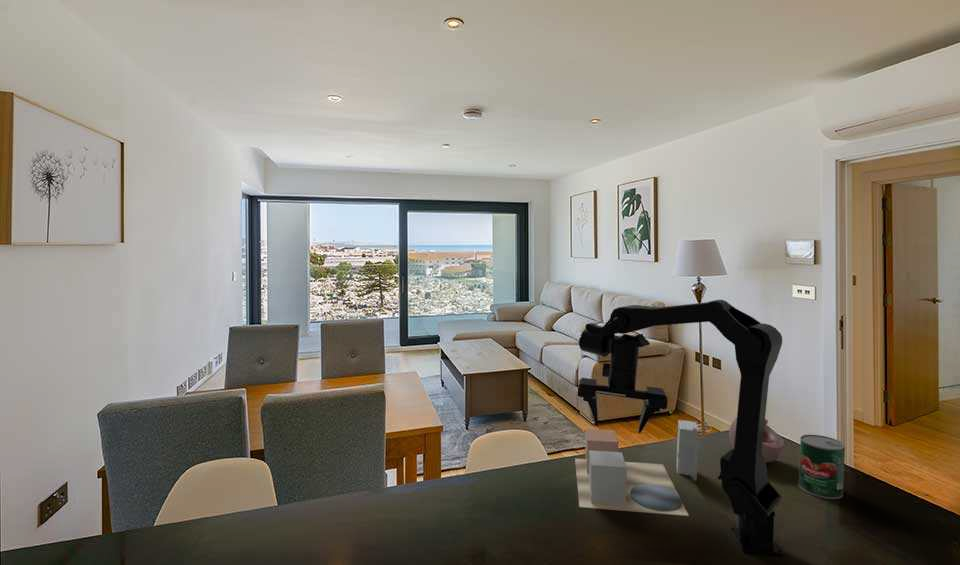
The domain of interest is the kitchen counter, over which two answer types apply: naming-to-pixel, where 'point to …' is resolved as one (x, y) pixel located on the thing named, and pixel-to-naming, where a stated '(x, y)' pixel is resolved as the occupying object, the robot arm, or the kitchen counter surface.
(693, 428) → the skincare box
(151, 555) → the kitchen counter surface
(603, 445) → the pink sandstone cube
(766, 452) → the mortar and pestle
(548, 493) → the kitchen counter surface
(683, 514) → the oak board
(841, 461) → the canned tomato
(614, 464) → the pale slate cube
